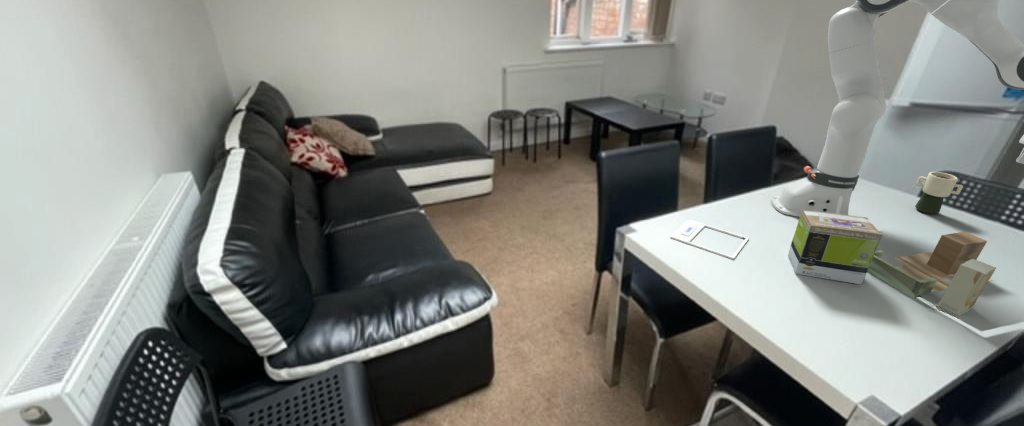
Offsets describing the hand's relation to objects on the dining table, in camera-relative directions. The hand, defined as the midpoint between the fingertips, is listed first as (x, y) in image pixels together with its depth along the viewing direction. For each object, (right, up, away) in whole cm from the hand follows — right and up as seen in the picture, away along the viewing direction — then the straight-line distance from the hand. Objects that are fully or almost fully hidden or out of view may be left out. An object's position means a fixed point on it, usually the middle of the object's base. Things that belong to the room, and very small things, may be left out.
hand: (1020, 163), depth 113 cm
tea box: (-48, -28, +4) cm, 56 cm away
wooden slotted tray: (-23, -29, +2) cm, 37 cm away
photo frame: (-72, -21, +18) cm, 77 cm away
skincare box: (-28, -36, -11) cm, 47 cm away
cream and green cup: (+9, -12, +36) cm, 39 cm away
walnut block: (-15, -27, +3) cm, 31 cm away
